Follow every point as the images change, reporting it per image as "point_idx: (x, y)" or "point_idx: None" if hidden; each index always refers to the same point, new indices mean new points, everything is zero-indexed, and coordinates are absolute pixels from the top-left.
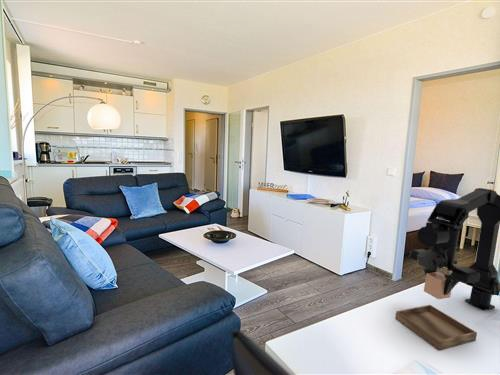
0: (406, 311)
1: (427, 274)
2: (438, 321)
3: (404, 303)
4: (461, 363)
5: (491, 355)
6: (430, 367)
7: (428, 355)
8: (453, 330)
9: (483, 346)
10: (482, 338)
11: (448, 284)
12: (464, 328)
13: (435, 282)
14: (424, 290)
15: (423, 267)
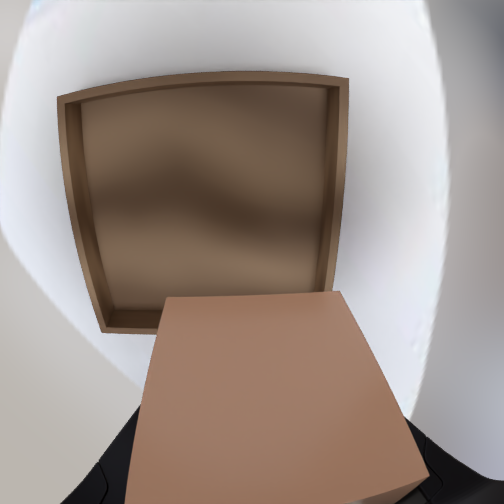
0: (335, 150)
1: (409, 474)
2: (236, 276)
3: (403, 252)
4: (20, 136)
5: (48, 286)
6: (39, 6)
7: (75, 34)
8: (164, 281)
9: (86, 306)
10: (126, 343)
11: (90, 486)
12: (145, 321)
13: (230, 445)
14: (335, 298)
15: (498, 494)
